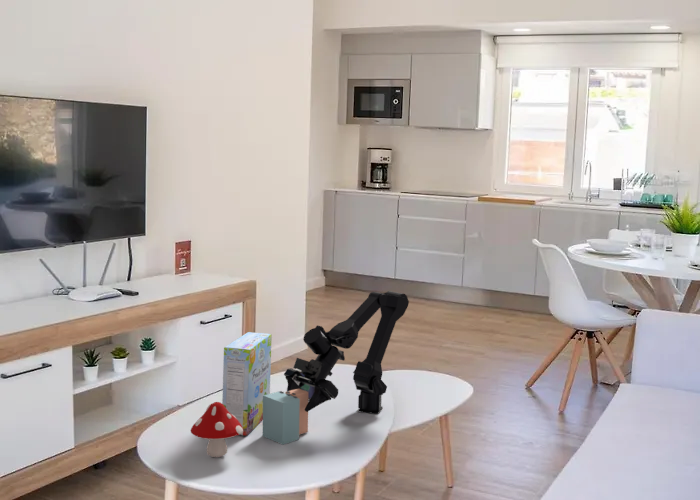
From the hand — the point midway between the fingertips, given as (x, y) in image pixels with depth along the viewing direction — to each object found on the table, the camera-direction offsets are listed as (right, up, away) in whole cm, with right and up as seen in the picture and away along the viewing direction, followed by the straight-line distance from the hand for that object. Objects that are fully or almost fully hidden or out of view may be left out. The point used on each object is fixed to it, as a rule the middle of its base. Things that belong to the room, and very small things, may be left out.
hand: (295, 407), depth 236 cm
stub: (0, -8, +1) cm, 8 cm away
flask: (+1, -4, +35) cm, 35 cm away
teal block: (-4, -8, -3) cm, 9 cm away
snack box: (-15, -7, +9) cm, 18 cm away
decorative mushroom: (-20, -10, -17) cm, 28 cm away
